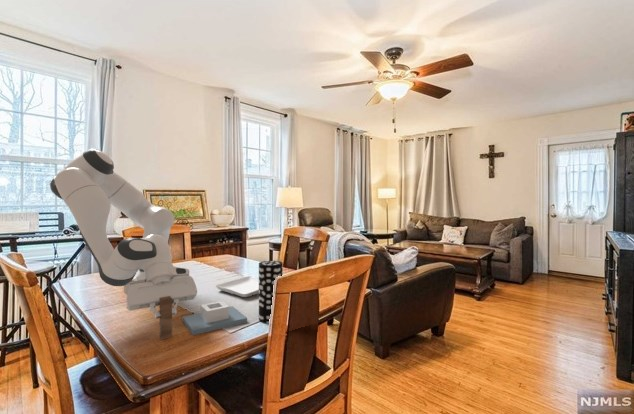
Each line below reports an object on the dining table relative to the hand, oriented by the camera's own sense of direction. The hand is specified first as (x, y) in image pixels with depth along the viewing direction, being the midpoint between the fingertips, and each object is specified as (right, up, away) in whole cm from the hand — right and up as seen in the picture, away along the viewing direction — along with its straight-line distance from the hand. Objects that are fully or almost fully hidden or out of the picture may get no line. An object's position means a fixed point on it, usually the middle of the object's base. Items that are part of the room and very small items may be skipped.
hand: (166, 316), depth 95 cm
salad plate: (+14, -6, +49) cm, 51 cm away
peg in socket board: (+11, -6, +12) cm, 18 cm away
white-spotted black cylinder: (+30, -7, +15) cm, 34 cm away
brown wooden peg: (0, -7, +1) cm, 7 cm away
